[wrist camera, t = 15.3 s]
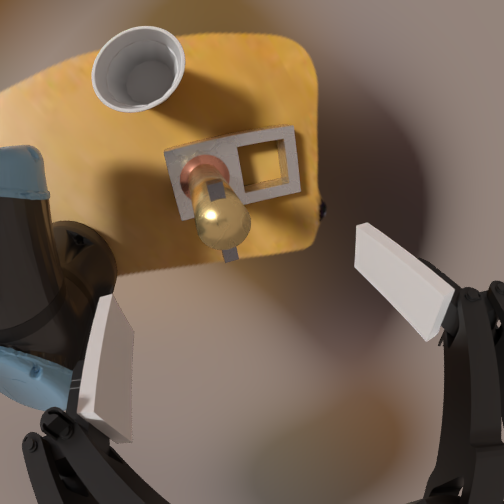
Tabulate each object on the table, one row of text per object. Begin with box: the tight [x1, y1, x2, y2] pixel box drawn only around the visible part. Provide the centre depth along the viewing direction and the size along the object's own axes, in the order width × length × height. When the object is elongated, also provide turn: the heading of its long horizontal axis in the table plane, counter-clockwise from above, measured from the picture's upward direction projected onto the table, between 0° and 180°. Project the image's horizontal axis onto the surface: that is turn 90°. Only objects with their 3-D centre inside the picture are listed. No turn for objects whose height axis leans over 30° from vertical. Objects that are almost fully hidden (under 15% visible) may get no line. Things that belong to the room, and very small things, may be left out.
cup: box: [92, 26, 185, 113], centre depth 22 cm, size 8×8×12 cm
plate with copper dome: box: [164, 124, 301, 221], centre depth 34 cm, size 16×9×3 cm, turn 99°
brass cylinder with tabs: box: [188, 164, 251, 263], centre depth 26 cm, size 6×4×14 cm, turn 9°
